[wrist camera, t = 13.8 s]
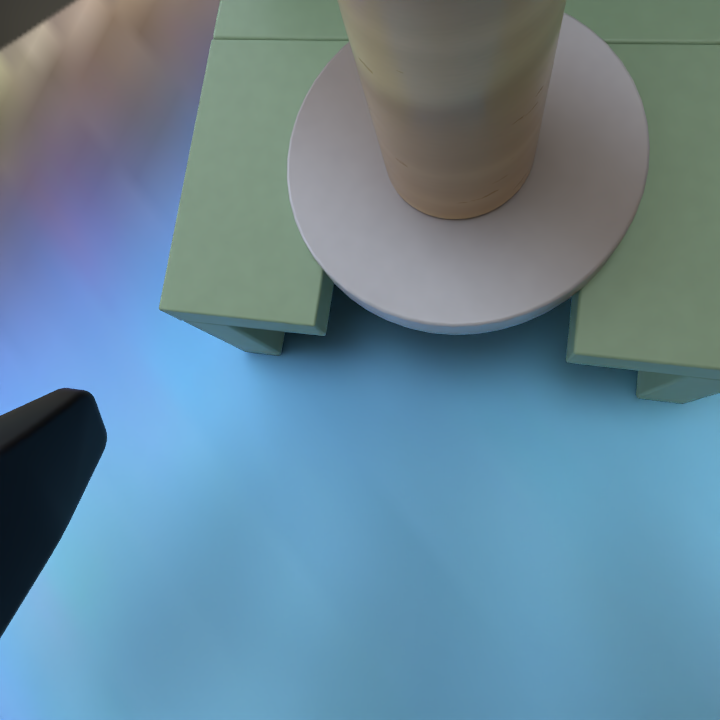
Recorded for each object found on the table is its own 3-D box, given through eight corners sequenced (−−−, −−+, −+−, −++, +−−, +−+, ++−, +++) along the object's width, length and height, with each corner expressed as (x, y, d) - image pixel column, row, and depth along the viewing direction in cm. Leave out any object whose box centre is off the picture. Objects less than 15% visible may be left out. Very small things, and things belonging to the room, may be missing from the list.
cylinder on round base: (555, 401, 15) (872, 160, 3) (304, 326, 17) (-126, -28, 5) (627, 151, 16) (1109, -817, 4) (381, 101, 17) (179, -705, 5)
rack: (685, 404, 15) (961, 326, 7) (242, 351, 18) (23, 243, 9) (708, 54, 17) (963, -388, 8) (296, 48, 19) (149, -297, 11)
